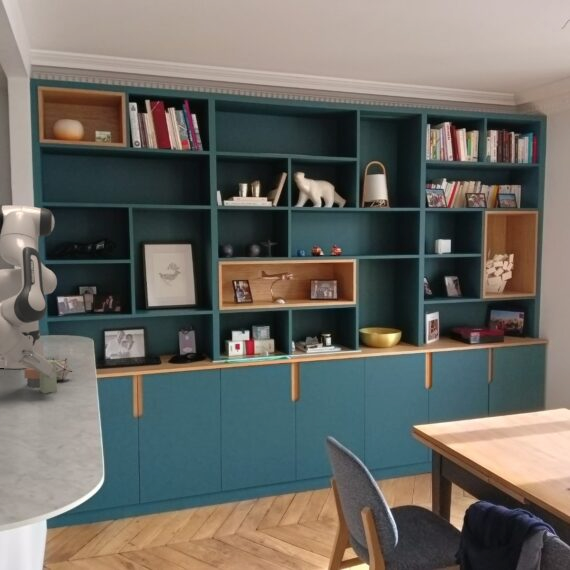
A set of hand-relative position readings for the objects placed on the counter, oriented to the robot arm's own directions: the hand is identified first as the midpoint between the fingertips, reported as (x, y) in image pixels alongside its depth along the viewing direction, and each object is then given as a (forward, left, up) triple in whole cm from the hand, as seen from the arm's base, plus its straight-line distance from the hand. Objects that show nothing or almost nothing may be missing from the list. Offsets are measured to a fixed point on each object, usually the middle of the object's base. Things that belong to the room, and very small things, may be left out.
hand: (50, 374), depth 191 cm
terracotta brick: (-11, -1, -3) cm, 11 cm away
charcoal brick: (-11, -1, -6) cm, 12 cm away
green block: (0, -1, -5) cm, 5 cm away
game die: (-12, +7, -6) cm, 16 cm away
